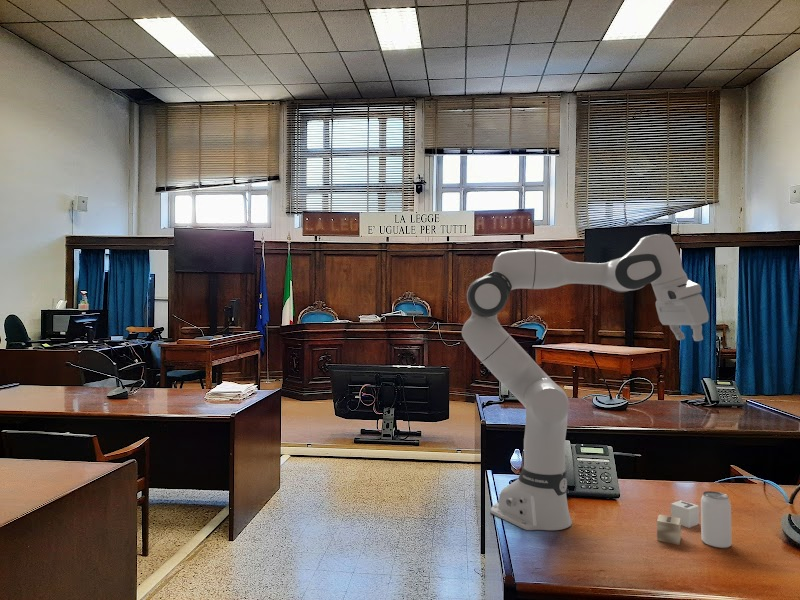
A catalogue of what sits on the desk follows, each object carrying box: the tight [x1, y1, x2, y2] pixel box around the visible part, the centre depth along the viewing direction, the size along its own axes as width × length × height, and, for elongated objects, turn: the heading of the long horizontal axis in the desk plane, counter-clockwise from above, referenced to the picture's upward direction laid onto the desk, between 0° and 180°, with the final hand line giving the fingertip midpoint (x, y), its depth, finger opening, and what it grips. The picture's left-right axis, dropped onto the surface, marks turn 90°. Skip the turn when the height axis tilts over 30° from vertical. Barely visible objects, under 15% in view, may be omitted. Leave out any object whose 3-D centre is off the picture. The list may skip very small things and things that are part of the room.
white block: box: [670, 499, 700, 529], centre depth 145 cm, size 5×5×5 cm
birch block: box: [656, 514, 682, 546], centre depth 135 cm, size 5×5×5 cm
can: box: [700, 490, 732, 549], centre depth 133 cm, size 6×6×12 cm
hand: (689, 340), depth 142 cm, fingers open, 8 cm apart
